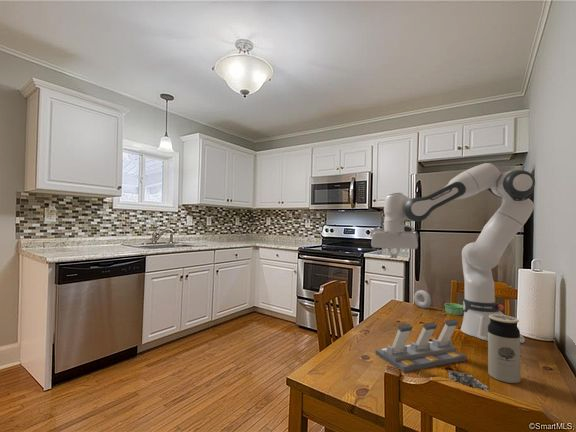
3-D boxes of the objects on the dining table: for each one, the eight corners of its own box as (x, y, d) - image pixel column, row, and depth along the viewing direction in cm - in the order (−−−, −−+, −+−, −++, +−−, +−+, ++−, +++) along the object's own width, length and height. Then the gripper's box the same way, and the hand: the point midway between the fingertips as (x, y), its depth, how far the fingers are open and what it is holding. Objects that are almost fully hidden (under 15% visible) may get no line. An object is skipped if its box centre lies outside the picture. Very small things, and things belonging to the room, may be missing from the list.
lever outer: (389, 350, 101) (399, 325, 98) (399, 348, 103) (409, 323, 99) (392, 353, 100) (402, 328, 96) (402, 352, 102) (412, 327, 98)
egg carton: (491, 405, 77) (491, 389, 77) (459, 401, 78) (459, 386, 78) (474, 384, 87) (474, 370, 87) (446, 381, 89) (446, 367, 89)
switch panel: (375, 353, 107) (375, 339, 107) (433, 344, 116) (433, 331, 116) (403, 372, 93) (403, 355, 94) (466, 360, 103) (466, 345, 103)
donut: (432, 309, 166) (432, 291, 166) (428, 310, 164) (428, 292, 164) (416, 305, 174) (416, 288, 175) (412, 306, 172) (412, 288, 173)
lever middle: (413, 346, 105) (424, 323, 100) (422, 344, 106) (434, 322, 102) (416, 350, 104) (427, 326, 99) (425, 348, 105) (437, 325, 101)
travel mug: (489, 368, 97) (489, 312, 97) (520, 376, 92) (520, 317, 92) (486, 378, 91) (486, 317, 91) (520, 387, 85) (519, 323, 86)
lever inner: (435, 342, 108) (446, 320, 104) (444, 341, 110) (455, 318, 106) (438, 346, 107) (449, 323, 103) (447, 345, 108) (458, 322, 104)
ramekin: (466, 316, 154) (466, 308, 154) (447, 315, 156) (447, 306, 156) (460, 311, 163) (460, 303, 163) (442, 310, 165) (442, 302, 165)
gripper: (370, 227, 139) (370, 257, 138) (418, 228, 132) (418, 259, 131) (371, 227, 145) (371, 256, 144) (417, 228, 138) (417, 258, 137)
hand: (393, 258), depth 138 cm, fingers closed
